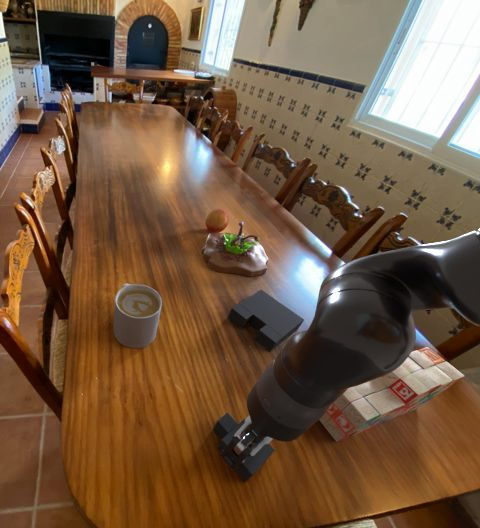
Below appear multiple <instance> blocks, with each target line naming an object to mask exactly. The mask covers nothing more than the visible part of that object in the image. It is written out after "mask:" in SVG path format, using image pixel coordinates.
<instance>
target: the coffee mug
mask: <svg viewBox="0 0 480 528" xmlns="http://www.w3.org/2000/svg"><path fill="white" fill-rule="evenodd" d="M162 300H163V299H162V297H161V295H160V293H159V292H158V291H157V290H155V289H154V288H153V287H151V286H148V285H145V284H141V283H133V284H130V283H124V284H122V286H121V288H120V289H119V290H118V291H117V292H116V293H115V297H114V308H113V309H114V311H113V328H112V329H113V330H112V331H113V336H114V337H115V339H116V340H117V341H118V342H119V343H120V345H122V346H125V347H127V348H130V349H142V348H146V347H148V346H150V345H151V344H152V343H153V342H154V341H155V339H156V336H157V332H158V327H159V322H160V317H161V312H162V307H163V301H162Z"/></svg>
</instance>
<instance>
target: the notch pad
mask: <svg viewBox="0 0 480 528" xmlns="http://www.w3.org/2000/svg"><path fill="white" fill-rule="evenodd" d="M227 318H228V319H229V320H230V321H231V322H233V324H235V325H236V326H237V327H239V328H240V329H241V330H242V329H243V328H245V327H246V326H247V325H250V326H251V327H252V328H253V329H254V330H256V331H257V333H256V335H255V337H254V341H256V342H257V343H258V344H259V345H260V346H261V347H263V348H264V349H265V350H267V351H268V352H269V353H271V352H272V351H273V350H275V349H276V348H277V347H278V346H280V345H281V344H282V343H283V342H284V341H286V340H287V339H288V338H289V337H291V336H292V335H293V334H294V333H295V332H296V331H298V330H299V329H300V327H301V326H302V324H303V323H304V321H305V319H304V318H303V317H301V315H298V314H297V312H295V311H293V310H291V309H290V308H288V307H287V306H285V305H284V304H283V303H281V302H280V301H278V300H277V299H276V298H274V297H273V296H272V295H270V294H268V293H267V292H265V291H264V289H263V290H262V289H259V290H258V291H256V292H255V293H253V294H252V295H250V296H248V297H247V298H245V299H244V300H242V301H240V302H239V303H238V304H236V305H234V306H232V307H231V308H230V311H229V314H228V316H227Z"/></svg>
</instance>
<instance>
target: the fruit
mask: <svg viewBox="0 0 480 528" xmlns="http://www.w3.org/2000/svg"><path fill="white" fill-rule="evenodd" d="M229 222H230V219H229V216H228V214H227V213H226V212H225V211H224V210H223V209H221V208H214V209H212V210H210V211H209V213H208V214H207V215H206V218H205V227H206V230H207V231H208V232H209V233H211V232H212V233H222V232H223V231H224V230H225V229H227V227H228V226H229Z"/></svg>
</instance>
